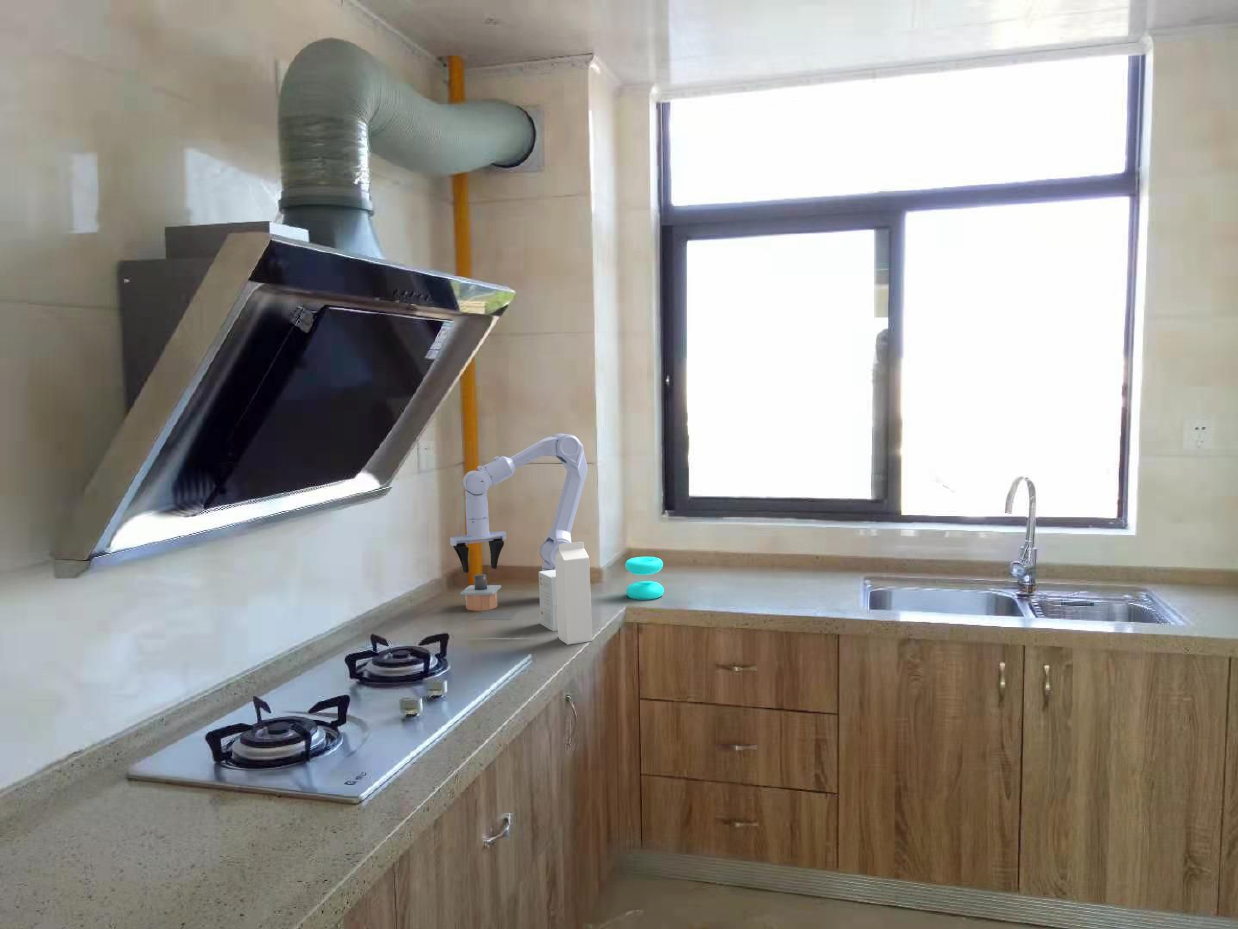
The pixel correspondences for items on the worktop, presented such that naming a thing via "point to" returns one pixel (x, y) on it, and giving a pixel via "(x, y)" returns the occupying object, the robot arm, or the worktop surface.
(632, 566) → the donuts
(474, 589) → the lid
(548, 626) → the small box
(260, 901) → the worktop surface
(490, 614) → the mat
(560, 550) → the milk
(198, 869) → the worktop surface
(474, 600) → the bowl
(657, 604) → the worktop surface
